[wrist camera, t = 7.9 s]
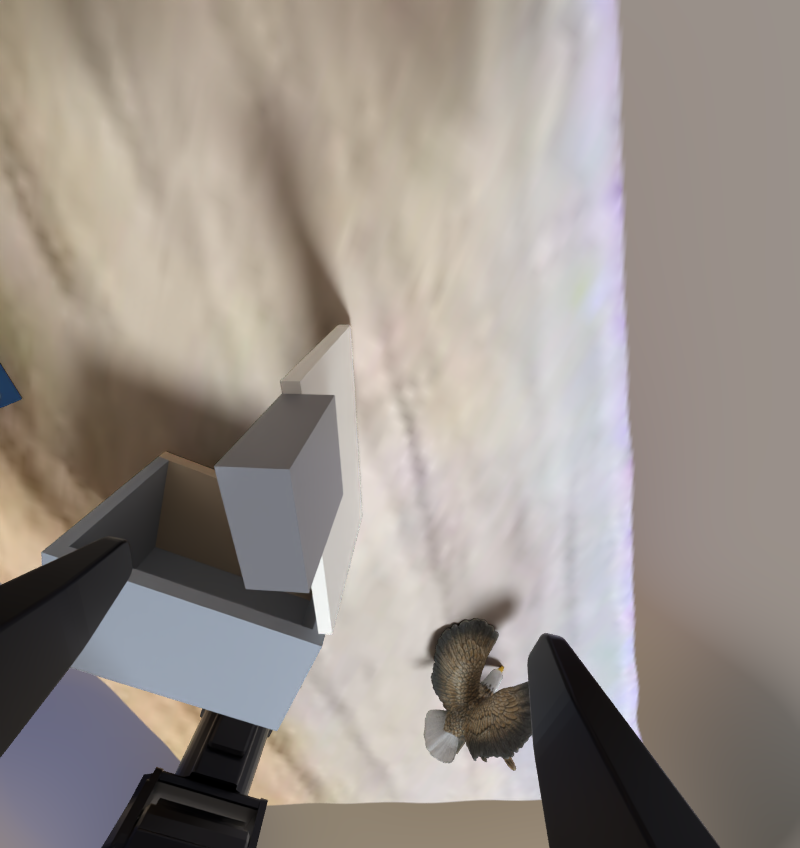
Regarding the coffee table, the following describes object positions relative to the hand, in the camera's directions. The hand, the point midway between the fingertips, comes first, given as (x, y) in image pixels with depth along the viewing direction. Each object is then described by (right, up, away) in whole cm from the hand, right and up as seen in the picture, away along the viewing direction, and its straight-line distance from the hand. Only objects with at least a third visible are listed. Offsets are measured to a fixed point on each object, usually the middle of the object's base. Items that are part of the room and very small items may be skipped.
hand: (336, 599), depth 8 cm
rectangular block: (-1, +3, +12) cm, 13 cm away
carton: (-8, -3, +17) cm, 19 cm away
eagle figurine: (+7, -14, +21) cm, 26 cm away
